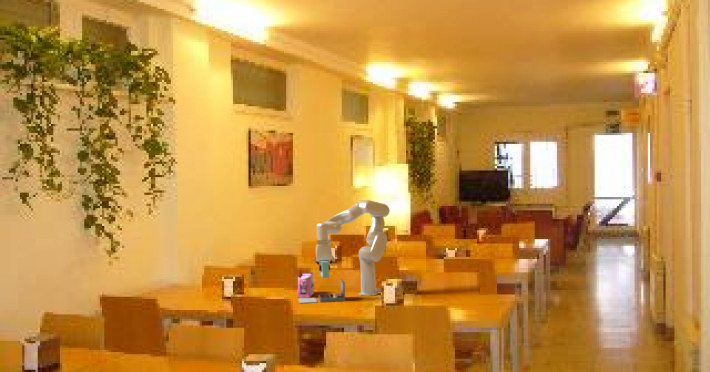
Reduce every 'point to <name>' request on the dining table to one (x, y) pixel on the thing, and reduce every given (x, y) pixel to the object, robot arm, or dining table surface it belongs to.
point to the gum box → (305, 285)
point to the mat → (307, 300)
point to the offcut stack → (337, 295)
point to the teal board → (325, 269)
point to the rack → (330, 296)
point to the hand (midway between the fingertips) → (324, 271)
